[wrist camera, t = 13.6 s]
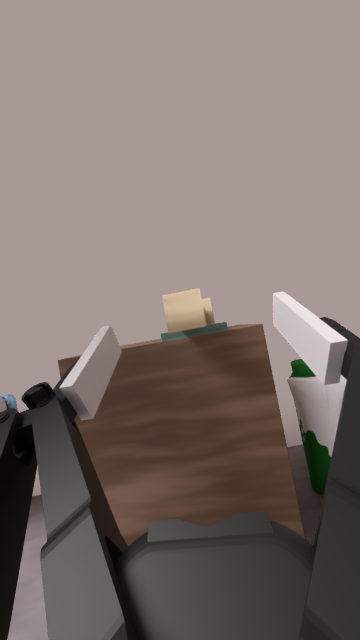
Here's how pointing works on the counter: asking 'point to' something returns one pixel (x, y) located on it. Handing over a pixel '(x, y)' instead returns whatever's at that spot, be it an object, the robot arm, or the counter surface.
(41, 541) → the counter surface
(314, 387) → the milk carton
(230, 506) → the walnut shelf
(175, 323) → the oak bar
